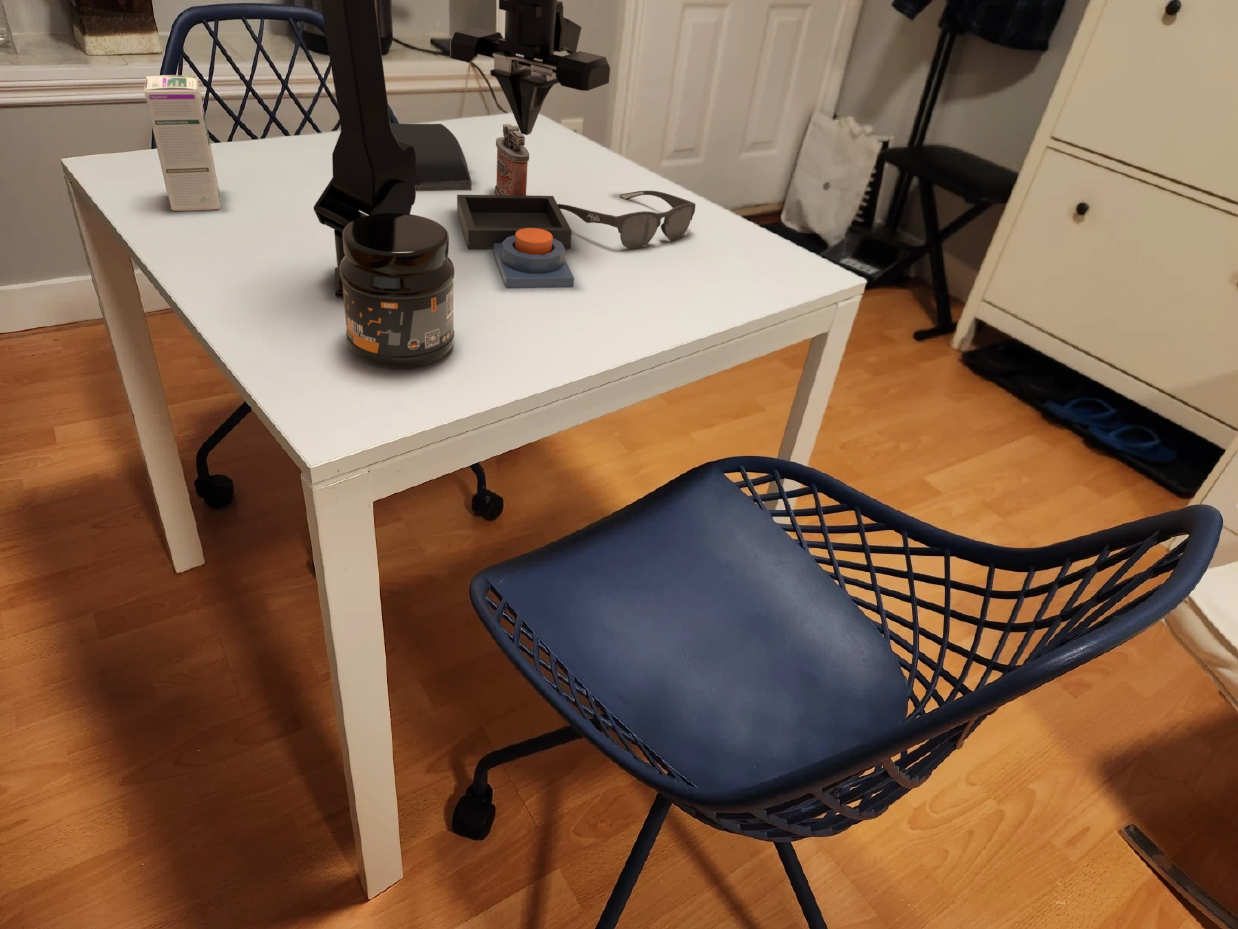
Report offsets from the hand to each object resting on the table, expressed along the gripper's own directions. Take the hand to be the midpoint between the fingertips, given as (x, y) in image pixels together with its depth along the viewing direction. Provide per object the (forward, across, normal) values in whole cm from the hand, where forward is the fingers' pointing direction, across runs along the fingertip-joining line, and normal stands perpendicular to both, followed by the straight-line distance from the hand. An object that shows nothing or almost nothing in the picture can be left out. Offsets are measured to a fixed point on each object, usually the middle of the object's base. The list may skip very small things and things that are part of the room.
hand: (526, 133), depth 105 cm
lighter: (+13, +7, -9) cm, 17 cm away
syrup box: (+13, +36, +20) cm, 43 cm away
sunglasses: (+13, -8, -12) cm, 20 cm away
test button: (+10, -7, +9) cm, 15 cm away
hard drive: (+13, +25, -11) cm, 30 cm away
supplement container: (+13, -6, +33) cm, 36 cm away
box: (+13, -7, +9) cm, 17 cm away
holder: (+13, +1, 0) cm, 13 cm away
